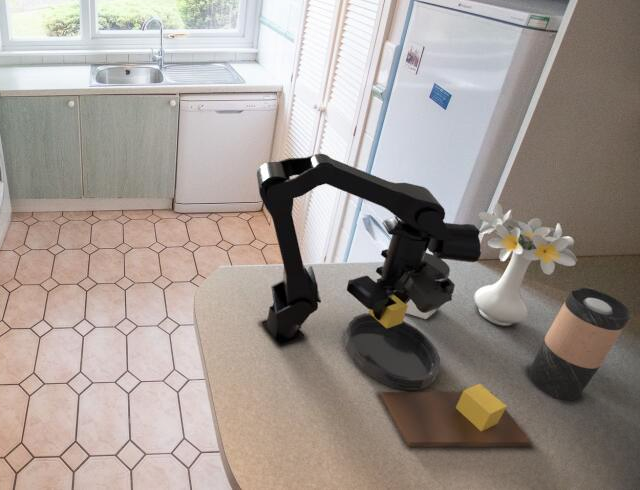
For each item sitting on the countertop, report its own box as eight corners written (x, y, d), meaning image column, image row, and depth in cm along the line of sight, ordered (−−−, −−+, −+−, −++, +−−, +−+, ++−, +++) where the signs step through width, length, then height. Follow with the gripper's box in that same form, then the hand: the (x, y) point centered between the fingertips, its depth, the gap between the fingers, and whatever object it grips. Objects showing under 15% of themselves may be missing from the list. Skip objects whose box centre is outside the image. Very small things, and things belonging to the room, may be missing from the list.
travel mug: (585, 409, 80) (639, 326, 72) (530, 389, 84) (575, 307, 75) (575, 377, 86) (623, 297, 78) (524, 359, 90) (565, 281, 81)
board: (407, 446, 74) (409, 442, 74) (380, 396, 83) (381, 392, 82) (528, 446, 74) (531, 442, 74) (489, 396, 83) (491, 391, 82)
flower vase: (478, 281, 110) (515, 193, 100) (557, 341, 94) (612, 243, 83) (433, 289, 108) (466, 199, 97) (506, 352, 91) (555, 252, 81)
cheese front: (481, 431, 75) (490, 414, 74) (455, 407, 79) (463, 390, 77) (497, 423, 77) (506, 406, 75) (471, 400, 81) (479, 383, 79)
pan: (391, 403, 81) (395, 391, 80) (326, 336, 95) (329, 324, 94) (455, 376, 86) (460, 364, 85) (385, 316, 100) (388, 305, 99)
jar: (421, 324, 98) (438, 281, 93) (385, 301, 104) (398, 260, 99) (442, 307, 102) (458, 265, 97) (405, 286, 109) (419, 246, 103)
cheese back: (386, 328, 88) (392, 311, 86) (368, 312, 91) (373, 295, 90) (402, 323, 89) (408, 305, 87) (383, 307, 93) (388, 290, 91)
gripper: (406, 294, 74) (383, 361, 80) (485, 268, 79) (457, 333, 86) (353, 253, 83) (336, 317, 90) (427, 232, 89) (406, 293, 95)
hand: (385, 315), depth 90 cm, fingers closed on cheese back, 4 cm apart
